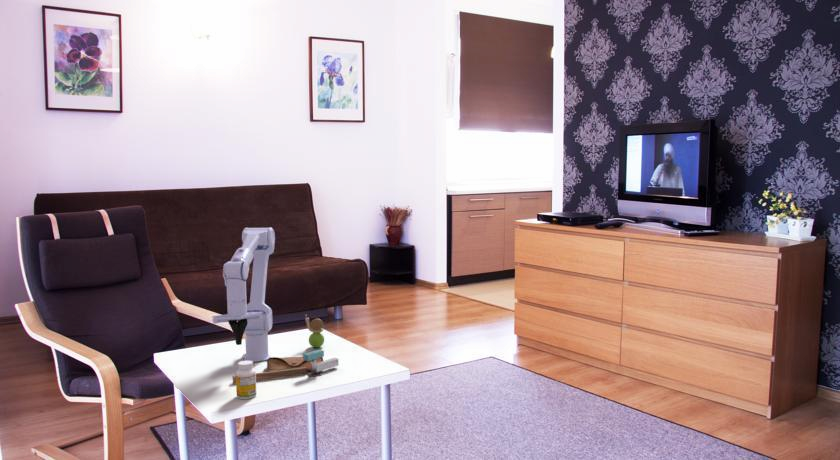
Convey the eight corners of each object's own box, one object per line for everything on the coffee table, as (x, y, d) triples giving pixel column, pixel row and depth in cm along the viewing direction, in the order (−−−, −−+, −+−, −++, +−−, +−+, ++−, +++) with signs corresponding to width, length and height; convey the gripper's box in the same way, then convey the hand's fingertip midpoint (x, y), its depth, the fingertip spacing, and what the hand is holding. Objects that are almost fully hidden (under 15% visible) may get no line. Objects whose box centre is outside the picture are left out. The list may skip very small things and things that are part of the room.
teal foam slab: (334, 364, 213) (333, 345, 212) (338, 366, 212) (338, 346, 211) (303, 374, 204) (302, 354, 203) (308, 375, 202) (307, 355, 202)
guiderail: (232, 382, 198) (232, 376, 198) (305, 373, 207) (305, 366, 207) (233, 384, 197) (233, 377, 197) (306, 374, 206) (306, 367, 206)
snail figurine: (306, 345, 238) (305, 312, 237) (324, 345, 239) (323, 312, 238) (305, 349, 233) (304, 316, 232) (324, 349, 234) (323, 315, 233)
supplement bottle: (238, 393, 189) (237, 360, 188) (257, 392, 190) (256, 359, 189) (235, 400, 184) (233, 365, 183) (254, 399, 184) (253, 364, 183)
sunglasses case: (264, 375, 205) (265, 354, 208) (266, 380, 211) (266, 359, 214) (323, 372, 207) (323, 351, 210) (324, 377, 214) (323, 357, 217)
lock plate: (306, 373, 206) (306, 372, 206) (318, 372, 208) (318, 371, 208) (309, 377, 203) (309, 376, 203) (321, 375, 204) (321, 374, 204)
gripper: (213, 305, 197) (215, 350, 198) (263, 300, 202) (264, 344, 204) (211, 300, 203) (213, 344, 204) (259, 296, 209) (260, 338, 210)
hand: (238, 344), depth 205 cm, fingers closed
